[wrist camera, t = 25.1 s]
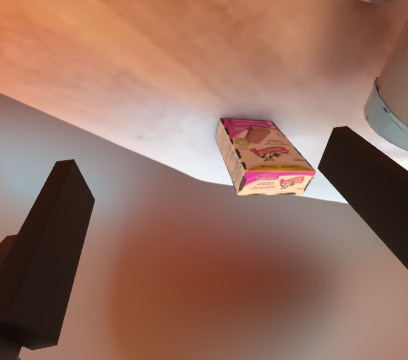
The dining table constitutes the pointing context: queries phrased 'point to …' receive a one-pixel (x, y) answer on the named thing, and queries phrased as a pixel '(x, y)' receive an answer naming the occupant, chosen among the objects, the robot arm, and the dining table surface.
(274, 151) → the candy bar box
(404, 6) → the dining table surface
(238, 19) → the dining table surface
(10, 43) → the dining table surface
